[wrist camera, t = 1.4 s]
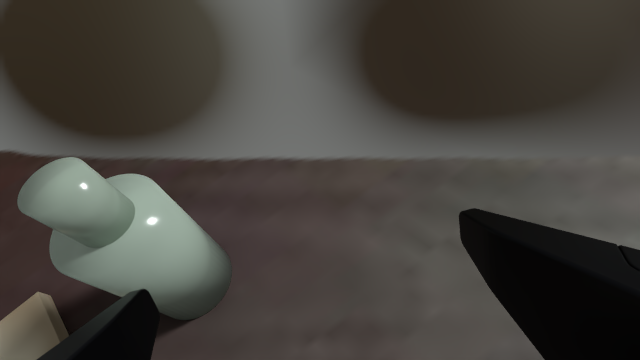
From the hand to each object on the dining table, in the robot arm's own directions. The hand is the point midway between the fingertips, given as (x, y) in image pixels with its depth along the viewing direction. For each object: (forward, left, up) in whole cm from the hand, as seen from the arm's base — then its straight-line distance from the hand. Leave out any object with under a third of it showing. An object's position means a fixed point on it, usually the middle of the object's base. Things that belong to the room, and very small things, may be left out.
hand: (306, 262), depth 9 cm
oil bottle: (-5, +11, -15) cm, 19 cm away
